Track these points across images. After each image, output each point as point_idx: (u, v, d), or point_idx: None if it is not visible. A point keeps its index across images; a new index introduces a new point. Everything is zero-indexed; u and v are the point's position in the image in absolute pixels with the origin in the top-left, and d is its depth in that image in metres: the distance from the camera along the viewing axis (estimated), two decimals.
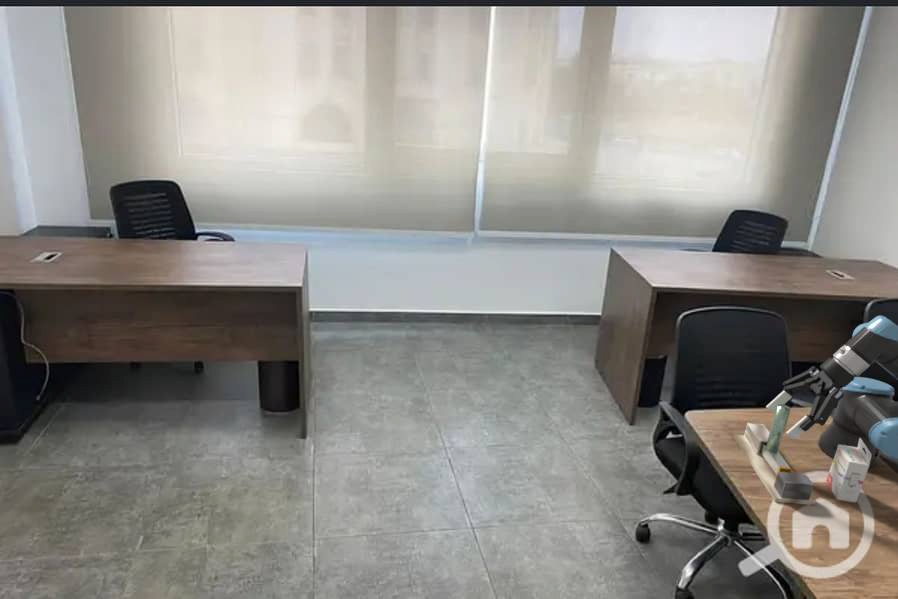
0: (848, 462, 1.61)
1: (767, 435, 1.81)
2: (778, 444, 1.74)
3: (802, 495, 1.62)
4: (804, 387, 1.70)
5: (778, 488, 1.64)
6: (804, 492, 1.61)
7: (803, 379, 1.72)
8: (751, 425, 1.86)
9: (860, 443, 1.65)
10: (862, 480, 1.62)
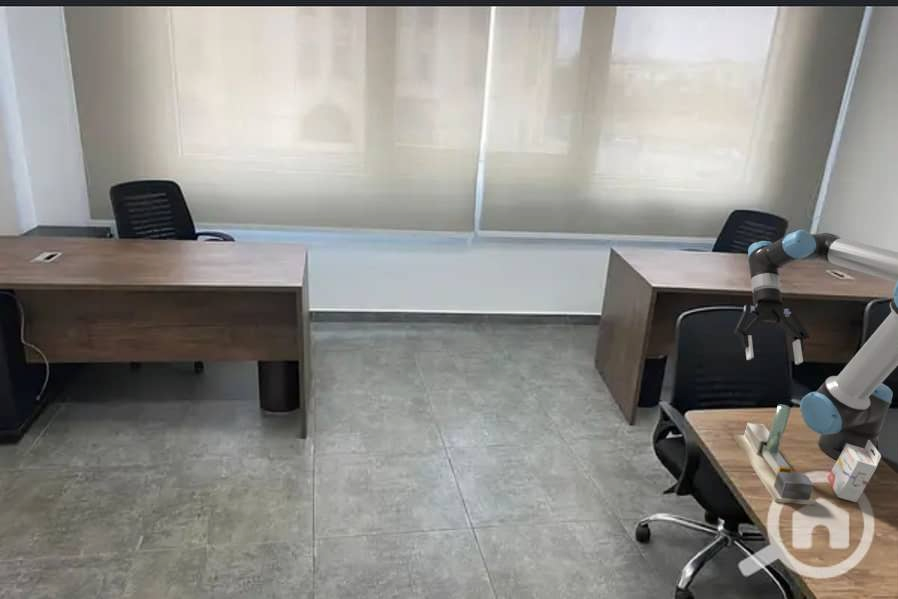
0: (856, 461, 1.61)
1: (767, 435, 1.81)
2: (778, 444, 1.74)
3: (802, 495, 1.62)
4: (783, 326, 1.83)
5: (778, 488, 1.64)
6: (804, 492, 1.61)
7: (793, 323, 1.83)
8: (751, 425, 1.86)
9: (869, 444, 1.65)
10: (867, 481, 1.61)
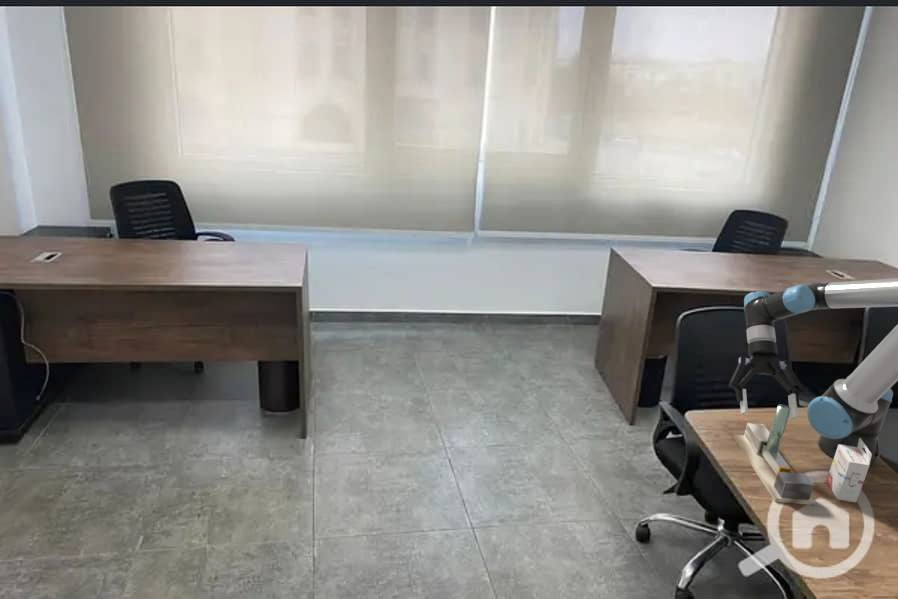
0: (848, 462, 1.61)
1: (767, 435, 1.81)
2: (778, 444, 1.74)
3: (802, 495, 1.62)
4: (779, 379, 1.81)
5: (778, 488, 1.64)
6: (804, 492, 1.61)
7: (788, 376, 1.82)
8: (751, 425, 1.86)
9: (860, 443, 1.65)
10: (862, 480, 1.62)
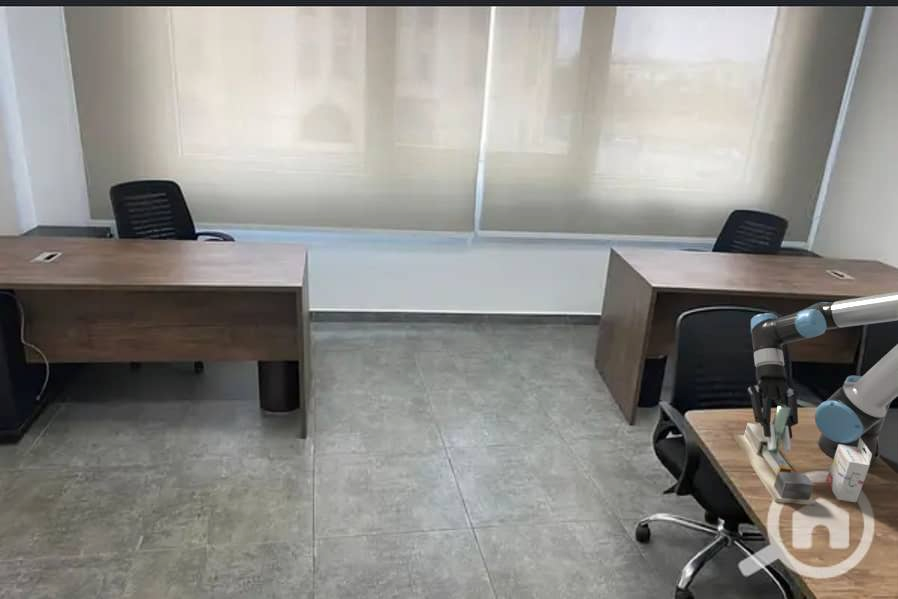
0: (848, 462, 1.61)
1: None
2: (778, 444, 1.74)
3: (802, 495, 1.62)
4: None
5: (778, 488, 1.64)
6: (804, 492, 1.61)
7: (790, 405, 1.77)
8: (751, 425, 1.86)
9: (860, 443, 1.65)
10: (862, 480, 1.62)
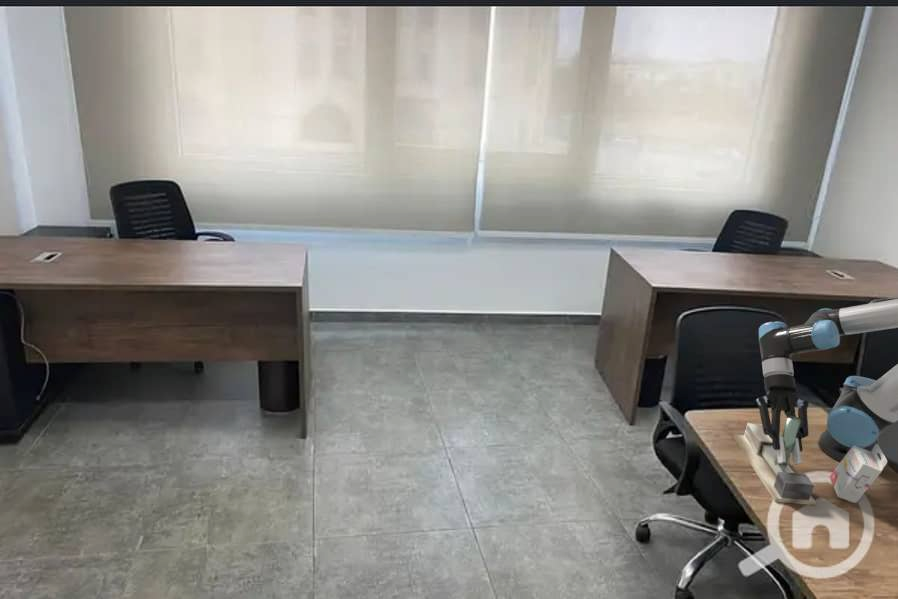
0: (862, 464, 1.60)
1: (767, 435, 1.81)
2: (788, 457, 1.68)
3: (802, 495, 1.62)
4: None
5: (778, 488, 1.64)
6: (804, 492, 1.61)
7: (800, 416, 1.71)
8: (751, 425, 1.86)
9: (876, 448, 1.64)
10: (869, 484, 1.61)
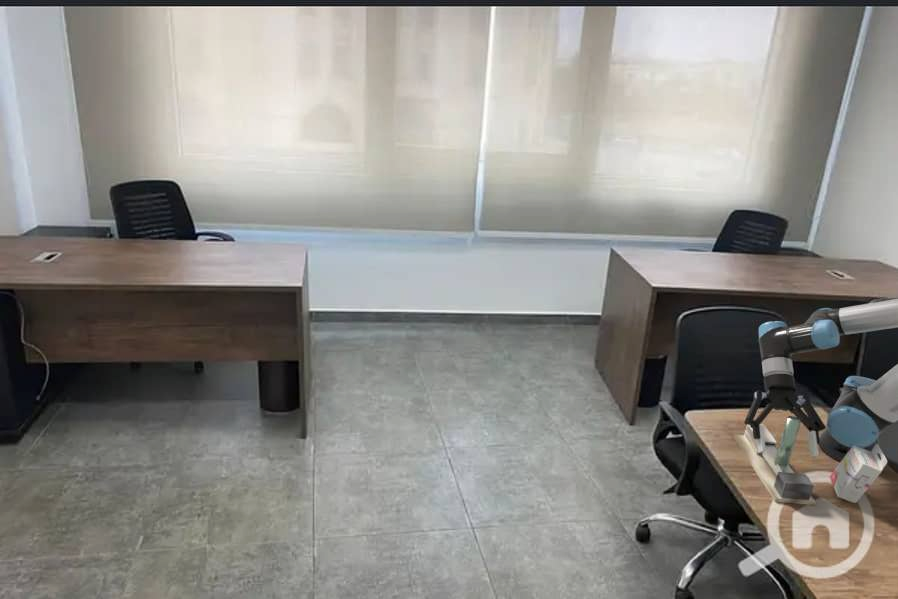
0: (862, 464, 1.60)
1: (767, 435, 1.81)
2: (788, 457, 1.68)
3: (802, 495, 1.62)
4: (797, 415, 1.72)
5: (778, 488, 1.64)
6: (804, 492, 1.61)
7: (807, 411, 1.72)
8: None
9: (876, 448, 1.64)
10: (869, 484, 1.61)
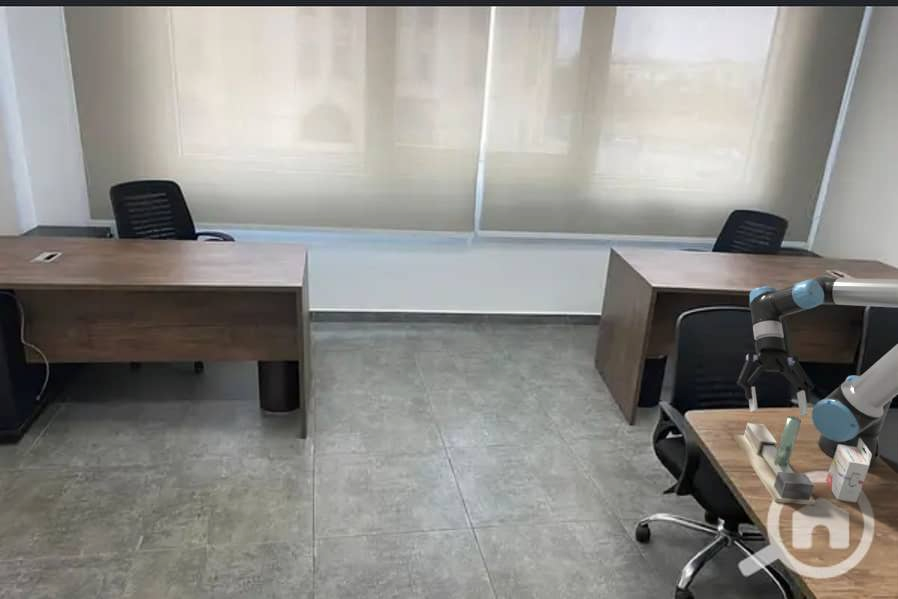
0: (848, 462, 1.61)
1: (767, 435, 1.81)
2: (788, 457, 1.68)
3: (802, 495, 1.62)
4: (787, 376, 1.78)
5: (778, 488, 1.64)
6: (804, 492, 1.61)
7: (797, 372, 1.78)
8: (751, 425, 1.86)
9: (860, 443, 1.65)
10: (862, 480, 1.62)
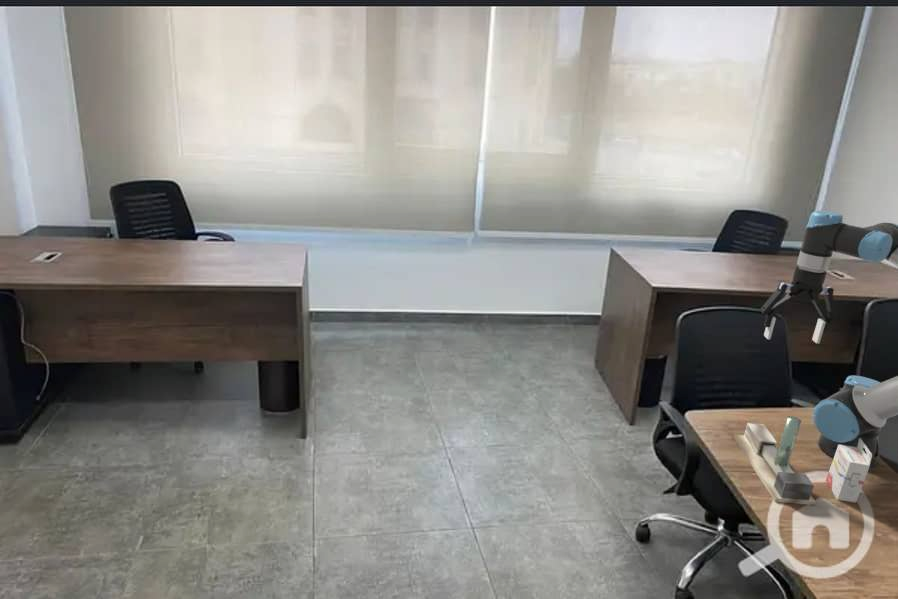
0: (849, 462, 1.61)
1: (767, 435, 1.81)
2: (788, 457, 1.68)
3: (802, 495, 1.62)
4: (815, 305, 1.77)
5: (778, 488, 1.64)
6: (804, 492, 1.61)
7: (827, 301, 1.76)
8: (751, 425, 1.86)
9: (860, 443, 1.65)
10: (862, 480, 1.62)
